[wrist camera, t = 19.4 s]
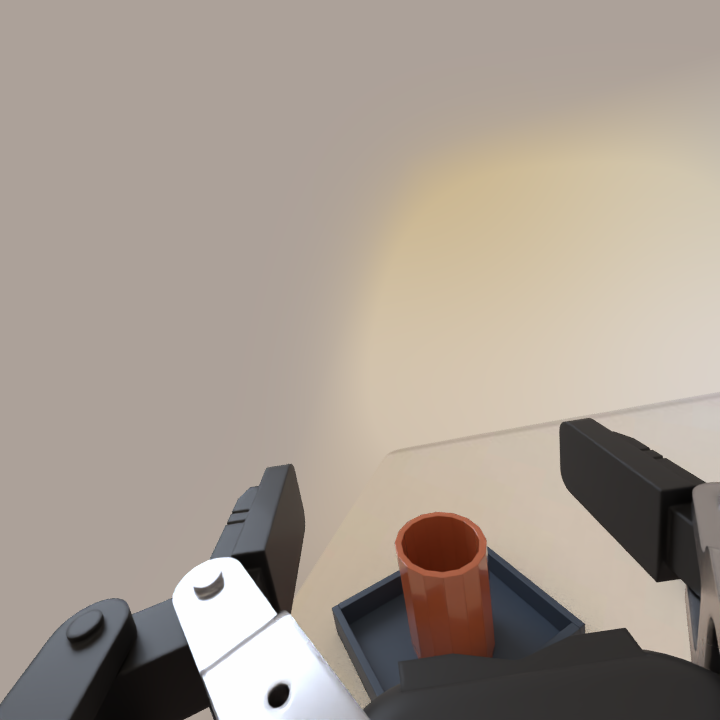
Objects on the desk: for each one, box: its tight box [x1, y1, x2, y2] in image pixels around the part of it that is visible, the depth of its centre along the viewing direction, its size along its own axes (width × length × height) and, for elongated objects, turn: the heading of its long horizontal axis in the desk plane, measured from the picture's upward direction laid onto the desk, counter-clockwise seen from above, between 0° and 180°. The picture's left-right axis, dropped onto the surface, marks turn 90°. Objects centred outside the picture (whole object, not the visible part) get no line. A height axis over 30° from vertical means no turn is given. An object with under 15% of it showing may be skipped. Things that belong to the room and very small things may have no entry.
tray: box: [332, 546, 585, 702], centre depth 30 cm, size 15×12×3 cm
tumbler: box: [395, 512, 496, 658], centre depth 29 cm, size 7×7×9 cm
